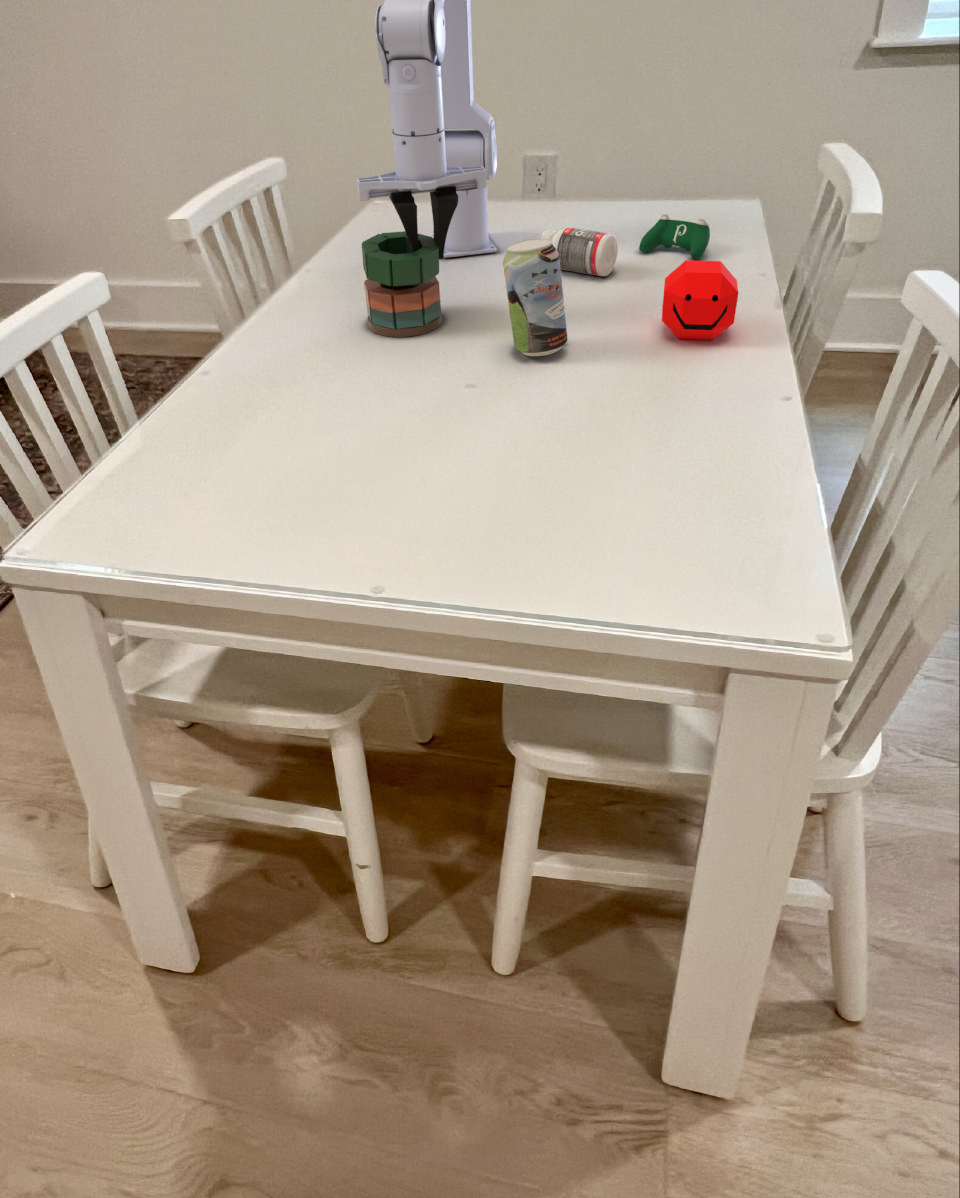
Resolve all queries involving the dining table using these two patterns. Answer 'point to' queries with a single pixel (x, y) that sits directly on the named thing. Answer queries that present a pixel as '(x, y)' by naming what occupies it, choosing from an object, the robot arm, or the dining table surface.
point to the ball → (699, 300)
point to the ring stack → (403, 308)
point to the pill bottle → (584, 250)
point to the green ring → (399, 259)
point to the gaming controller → (677, 236)
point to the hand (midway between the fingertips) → (427, 257)
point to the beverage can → (535, 297)
